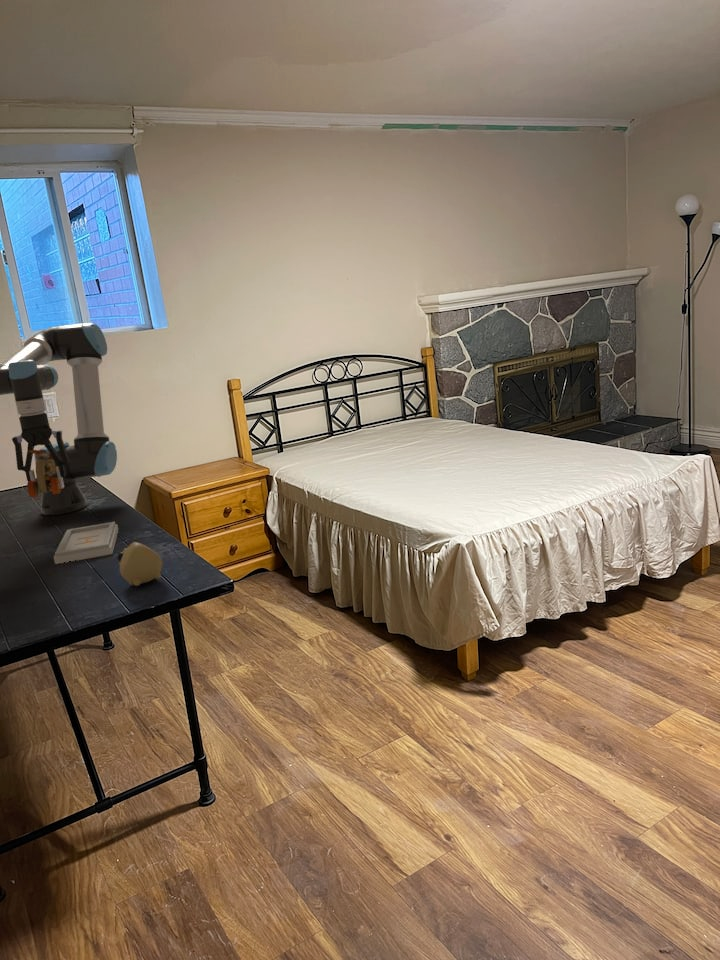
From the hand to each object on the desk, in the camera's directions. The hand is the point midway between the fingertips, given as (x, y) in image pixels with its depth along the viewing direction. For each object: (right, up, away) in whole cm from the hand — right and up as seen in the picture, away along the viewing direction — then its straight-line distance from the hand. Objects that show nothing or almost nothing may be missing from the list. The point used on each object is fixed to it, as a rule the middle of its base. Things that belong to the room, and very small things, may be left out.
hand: (49, 489), depth 210 cm
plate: (+15, -16, -7) cm, 23 cm away
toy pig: (+41, -22, -40) cm, 61 cm away
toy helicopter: (0, -1, 0) cm, 1 cm away
